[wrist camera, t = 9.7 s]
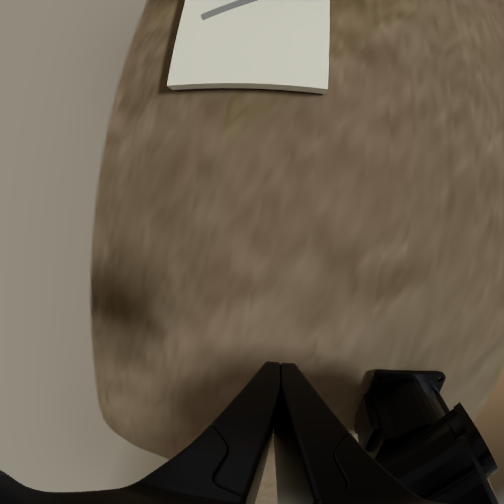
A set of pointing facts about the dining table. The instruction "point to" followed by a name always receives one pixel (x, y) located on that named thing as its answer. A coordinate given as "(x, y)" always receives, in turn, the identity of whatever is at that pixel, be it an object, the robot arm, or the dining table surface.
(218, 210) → the dining table surface
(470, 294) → the dining table surface
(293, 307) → the dining table surface
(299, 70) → the green-marked white board
